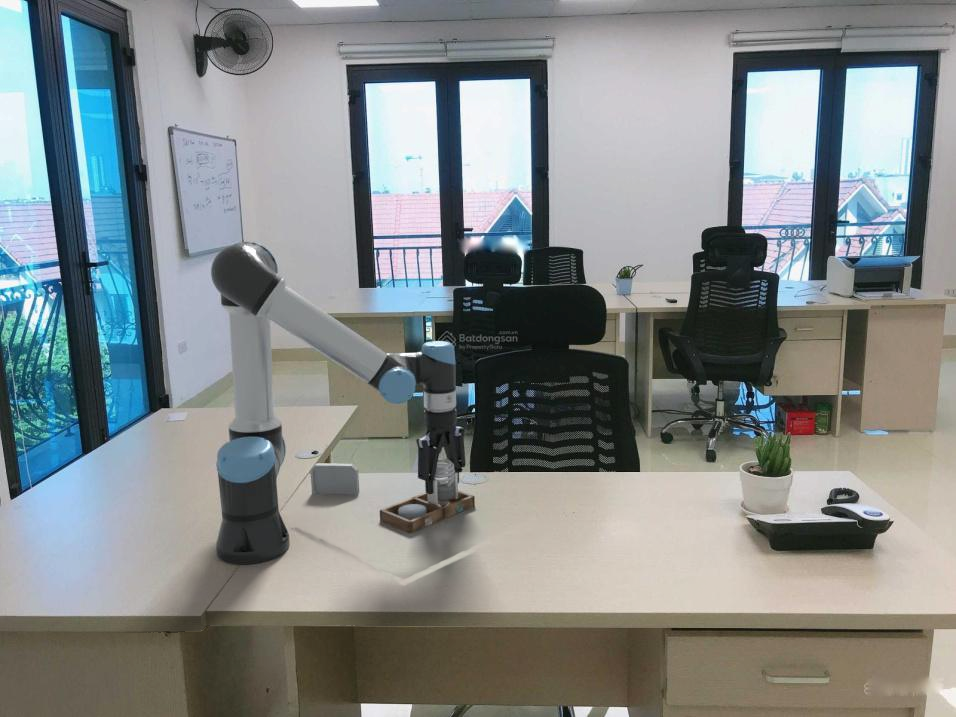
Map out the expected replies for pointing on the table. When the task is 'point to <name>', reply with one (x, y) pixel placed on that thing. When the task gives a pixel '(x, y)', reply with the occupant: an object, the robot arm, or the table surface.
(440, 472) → the light bulb
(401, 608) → the table surface
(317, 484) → the grey plastic panel
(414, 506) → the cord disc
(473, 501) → the organizer
